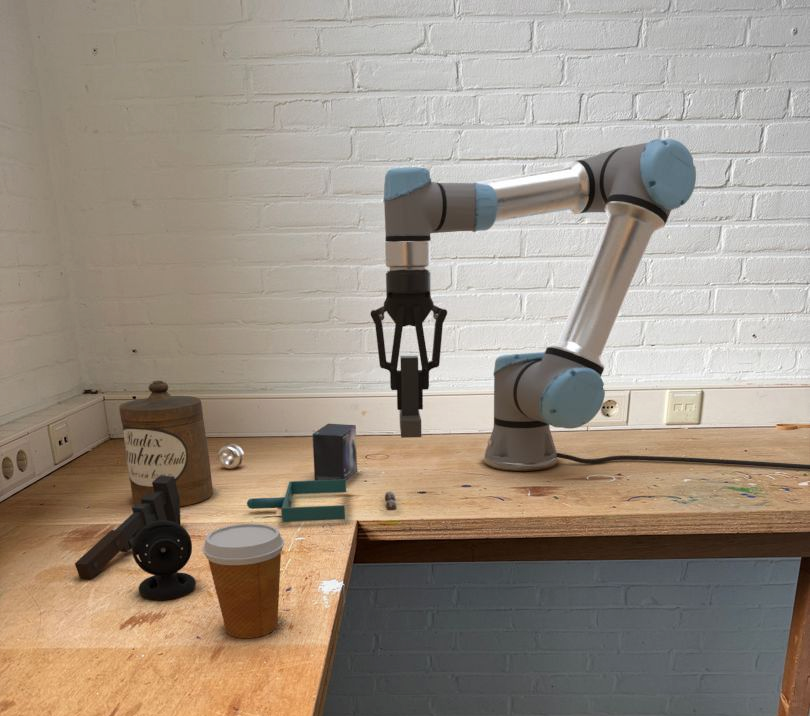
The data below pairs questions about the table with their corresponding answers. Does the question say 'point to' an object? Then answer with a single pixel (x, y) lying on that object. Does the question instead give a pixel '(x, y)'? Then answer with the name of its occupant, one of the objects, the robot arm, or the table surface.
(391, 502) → the glossy brown capsule
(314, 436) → the small box
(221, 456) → the grooved metal pulley
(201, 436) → the wooden container
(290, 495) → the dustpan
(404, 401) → the gray l-shaped block
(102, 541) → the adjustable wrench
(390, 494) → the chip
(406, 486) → the table surface
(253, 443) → the table surface
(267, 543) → the disposable coffee cup
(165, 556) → the webcam
